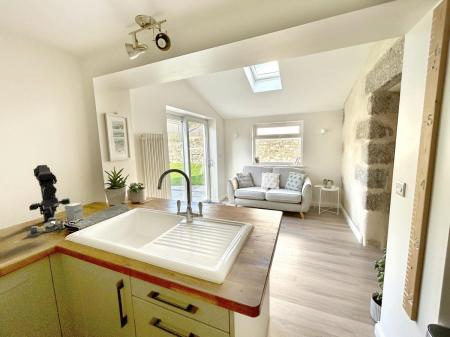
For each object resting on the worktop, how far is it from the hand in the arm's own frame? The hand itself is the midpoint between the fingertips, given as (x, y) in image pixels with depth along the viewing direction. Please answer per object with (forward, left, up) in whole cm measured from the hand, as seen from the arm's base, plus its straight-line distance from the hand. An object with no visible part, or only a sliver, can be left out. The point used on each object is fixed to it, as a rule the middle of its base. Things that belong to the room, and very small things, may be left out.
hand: (53, 217), depth 125 cm
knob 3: (-3, +5, -8) cm, 10 cm away
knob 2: (-18, -1, -8) cm, 20 cm away
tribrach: (-11, -3, -10) cm, 15 cm away
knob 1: (-4, -8, -8) cm, 12 cm away
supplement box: (-15, +10, -10) cm, 21 cm away
